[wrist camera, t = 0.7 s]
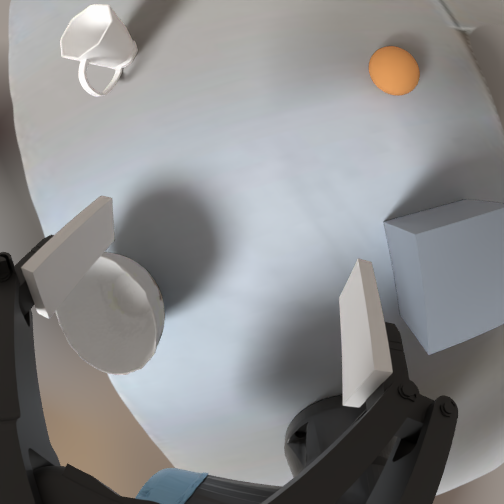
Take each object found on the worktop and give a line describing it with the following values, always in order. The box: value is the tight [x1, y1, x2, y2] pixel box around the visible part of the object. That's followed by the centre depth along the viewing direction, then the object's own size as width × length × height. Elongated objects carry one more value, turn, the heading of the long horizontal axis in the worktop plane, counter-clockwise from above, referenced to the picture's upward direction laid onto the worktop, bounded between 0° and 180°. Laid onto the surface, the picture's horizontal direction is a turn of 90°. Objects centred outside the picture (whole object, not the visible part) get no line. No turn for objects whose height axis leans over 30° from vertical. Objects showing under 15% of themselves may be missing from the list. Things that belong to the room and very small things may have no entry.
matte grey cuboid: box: [383, 199, 504, 355], centre depth 24 cm, size 10×10×9 cm
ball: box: [369, 46, 420, 95], centre depth 23 cm, size 5×5×5 cm
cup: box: [60, 4, 138, 97], centre depth 25 cm, size 7×10×8 cm
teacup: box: [55, 252, 165, 375], centre depth 30 cm, size 15×12×8 cm
